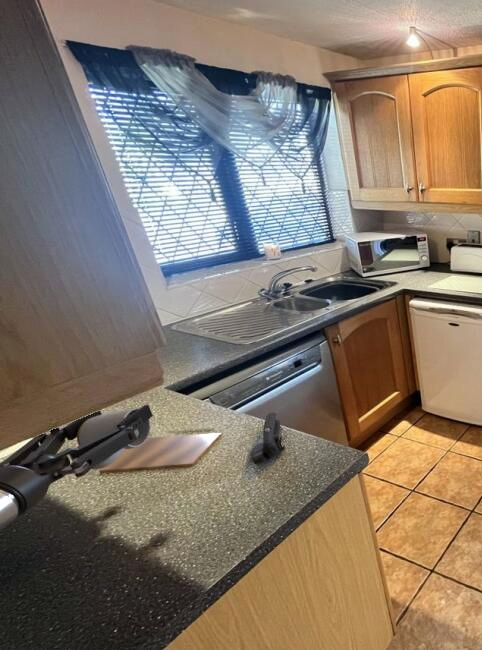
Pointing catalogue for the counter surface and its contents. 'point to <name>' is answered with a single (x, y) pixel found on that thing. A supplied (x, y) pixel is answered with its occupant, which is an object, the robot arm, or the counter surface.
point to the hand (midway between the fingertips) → (124, 412)
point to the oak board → (164, 452)
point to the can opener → (269, 440)
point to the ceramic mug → (108, 423)
